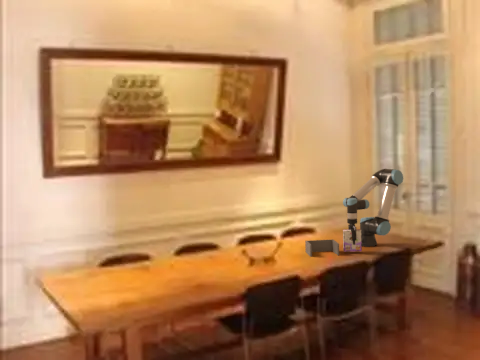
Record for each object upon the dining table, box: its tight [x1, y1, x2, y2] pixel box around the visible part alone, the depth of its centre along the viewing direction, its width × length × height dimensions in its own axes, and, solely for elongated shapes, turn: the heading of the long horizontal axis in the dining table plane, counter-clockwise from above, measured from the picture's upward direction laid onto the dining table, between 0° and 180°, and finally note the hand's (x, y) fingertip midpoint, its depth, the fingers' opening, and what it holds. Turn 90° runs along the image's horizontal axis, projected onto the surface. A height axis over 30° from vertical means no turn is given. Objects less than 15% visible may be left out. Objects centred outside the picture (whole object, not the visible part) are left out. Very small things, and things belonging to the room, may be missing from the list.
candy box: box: [342, 228, 363, 252], centre depth 475 cm, size 14×6×16 cm, turn 85°
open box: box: [304, 239, 340, 258], centre depth 475 cm, size 22×17×9 cm
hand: (352, 247), depth 476 cm, fingers closed on candy box, 6 cm apart
